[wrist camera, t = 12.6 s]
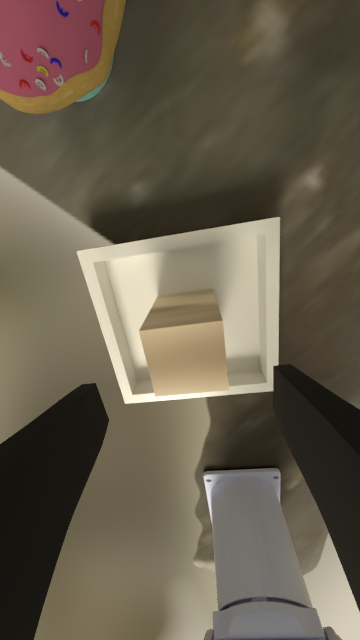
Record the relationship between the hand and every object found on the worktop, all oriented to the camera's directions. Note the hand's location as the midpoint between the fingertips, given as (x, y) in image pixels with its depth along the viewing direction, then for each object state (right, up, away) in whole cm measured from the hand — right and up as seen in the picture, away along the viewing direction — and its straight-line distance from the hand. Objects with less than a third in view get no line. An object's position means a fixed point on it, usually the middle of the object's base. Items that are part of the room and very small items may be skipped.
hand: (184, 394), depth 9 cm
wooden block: (+1, +3, +8) cm, 8 cm away
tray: (+1, +3, +8) cm, 9 cm away
